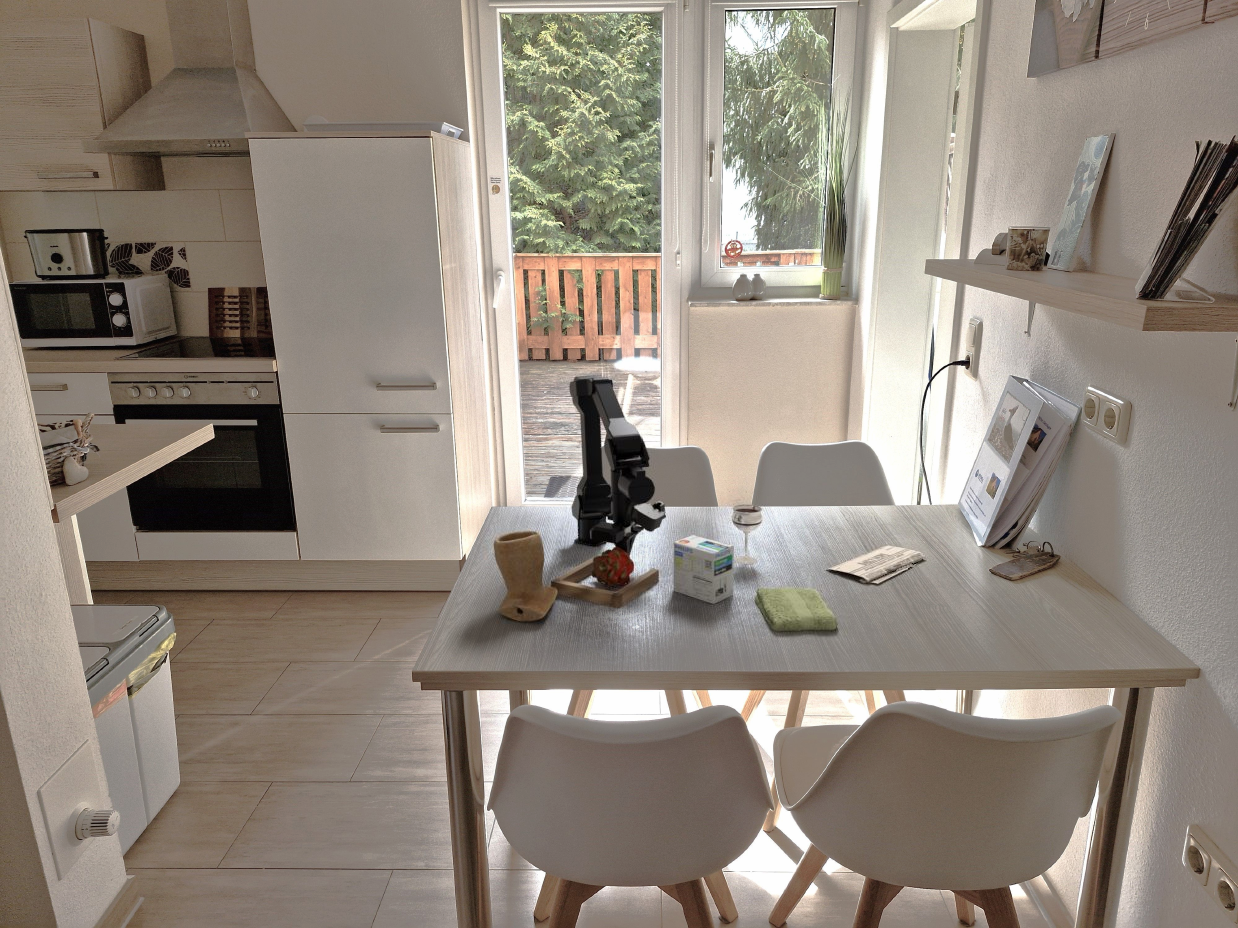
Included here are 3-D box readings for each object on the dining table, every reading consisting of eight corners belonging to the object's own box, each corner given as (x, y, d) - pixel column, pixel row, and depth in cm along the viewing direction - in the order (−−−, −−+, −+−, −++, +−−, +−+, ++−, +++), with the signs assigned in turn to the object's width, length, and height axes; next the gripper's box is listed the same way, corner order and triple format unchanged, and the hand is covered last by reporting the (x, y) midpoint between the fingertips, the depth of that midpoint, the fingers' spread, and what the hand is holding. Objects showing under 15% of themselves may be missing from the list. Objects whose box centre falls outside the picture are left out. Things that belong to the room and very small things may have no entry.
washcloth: (815, 596, 177) (816, 581, 176) (840, 634, 160) (841, 617, 159) (751, 597, 177) (751, 582, 176) (769, 635, 160) (769, 619, 159)
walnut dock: (551, 592, 179) (550, 581, 179) (594, 567, 193) (594, 556, 192) (618, 608, 171) (618, 596, 171) (658, 580, 185) (658, 569, 184)
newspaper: (874, 589, 181) (874, 578, 180) (826, 578, 190) (825, 567, 190) (934, 563, 195) (934, 552, 194) (886, 554, 204) (886, 543, 204)
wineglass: (760, 555, 199) (761, 504, 196) (762, 565, 193) (763, 513, 190) (730, 554, 200) (731, 503, 197) (731, 565, 193) (732, 513, 190)
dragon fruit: (604, 603, 178) (613, 589, 189) (638, 580, 176) (645, 567, 188) (580, 568, 178) (591, 556, 189) (613, 545, 176) (623, 535, 188)
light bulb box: (734, 595, 177) (735, 544, 174) (714, 605, 172) (714, 553, 170) (692, 582, 184) (693, 533, 181) (672, 591, 179) (672, 541, 177)
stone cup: (506, 591, 180) (503, 522, 176) (563, 595, 178) (561, 524, 174) (483, 622, 166) (479, 547, 162) (544, 626, 164) (541, 550, 160)
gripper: (635, 508, 172) (636, 582, 176) (679, 484, 188) (679, 553, 192) (588, 500, 178) (589, 572, 182) (634, 478, 193) (634, 545, 197)
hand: (625, 560), depth 188 cm, fingers closed
